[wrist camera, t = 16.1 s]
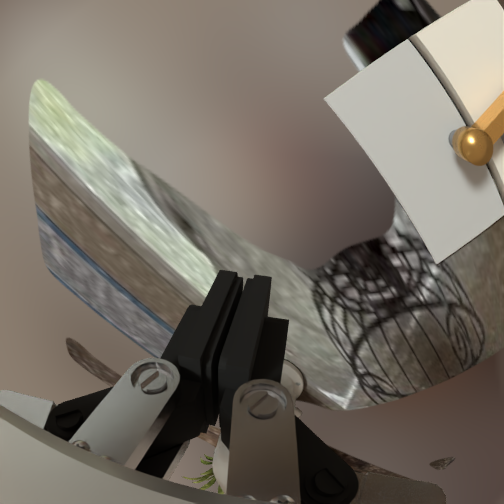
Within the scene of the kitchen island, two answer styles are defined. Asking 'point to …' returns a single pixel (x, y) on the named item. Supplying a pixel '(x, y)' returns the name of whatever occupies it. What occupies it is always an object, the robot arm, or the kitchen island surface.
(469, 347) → the kitchen island surface
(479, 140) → the latch bar
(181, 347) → the robot arm
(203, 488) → the house plant
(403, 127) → the door mock-up
